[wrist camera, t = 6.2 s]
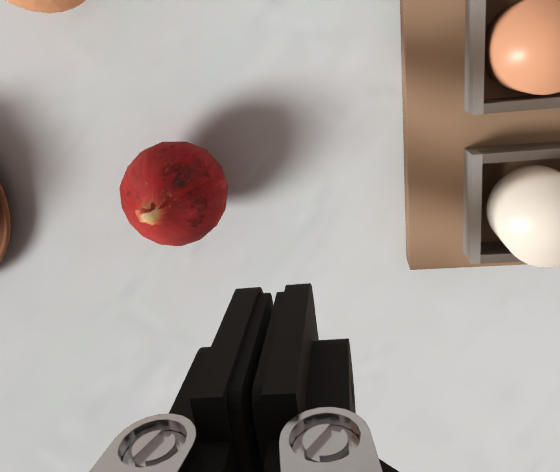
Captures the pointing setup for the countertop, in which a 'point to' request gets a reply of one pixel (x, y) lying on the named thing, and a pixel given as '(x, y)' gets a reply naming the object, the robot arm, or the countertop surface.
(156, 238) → the red fruit
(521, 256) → the cream button
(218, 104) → the countertop surface
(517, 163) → the button board
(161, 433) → the robot arm
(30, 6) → the egg
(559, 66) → the terracotta button
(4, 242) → the cup and saucer
